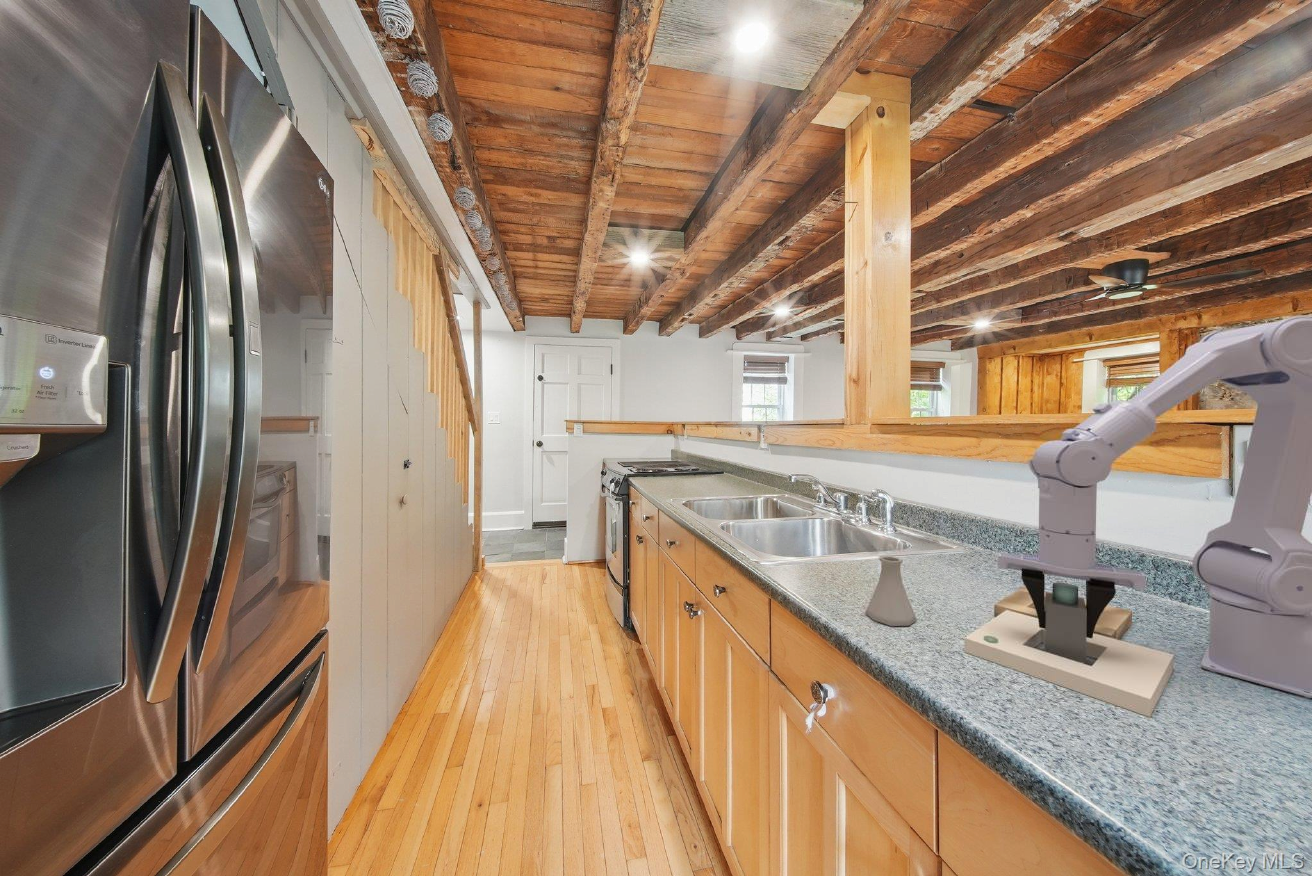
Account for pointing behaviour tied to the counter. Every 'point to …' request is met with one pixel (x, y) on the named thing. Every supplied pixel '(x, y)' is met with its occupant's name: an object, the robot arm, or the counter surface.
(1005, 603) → the slotted wooden base
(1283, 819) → the counter surface
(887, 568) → the flask
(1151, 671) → the port dock
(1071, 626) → the plug
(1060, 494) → the robot arm
